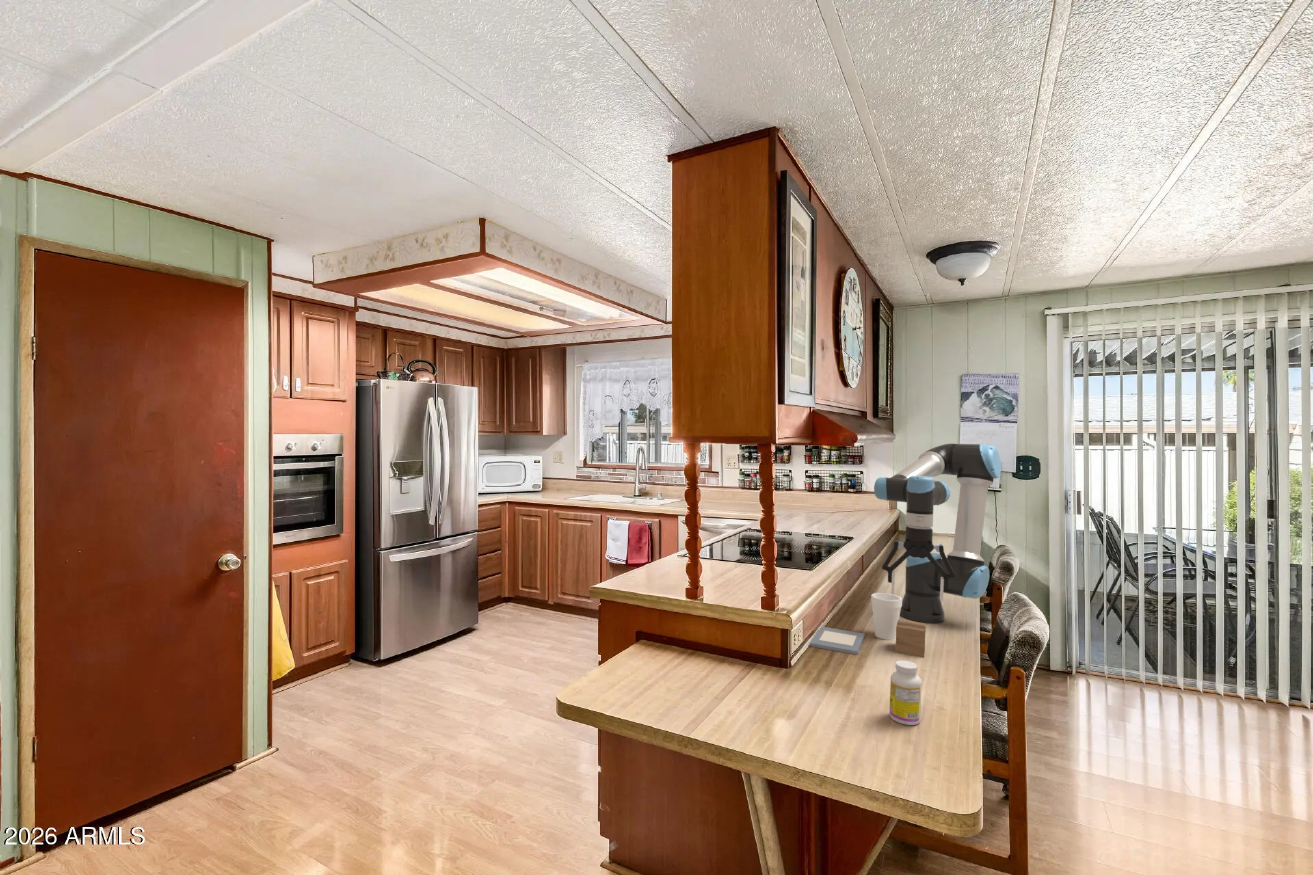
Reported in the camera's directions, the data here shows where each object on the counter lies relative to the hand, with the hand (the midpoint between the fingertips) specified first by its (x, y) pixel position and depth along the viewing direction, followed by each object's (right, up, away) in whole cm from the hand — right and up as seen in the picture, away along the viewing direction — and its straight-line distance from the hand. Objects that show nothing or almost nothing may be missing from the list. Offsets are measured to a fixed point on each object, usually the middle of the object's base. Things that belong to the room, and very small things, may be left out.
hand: (916, 596), depth 181 cm
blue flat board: (-22, -16, +8) cm, 28 cm away
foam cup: (-4, -17, +14) cm, 22 cm away
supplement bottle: (-22, -17, -43) cm, 51 cm away
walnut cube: (-1, -17, +1) cm, 17 cm away
